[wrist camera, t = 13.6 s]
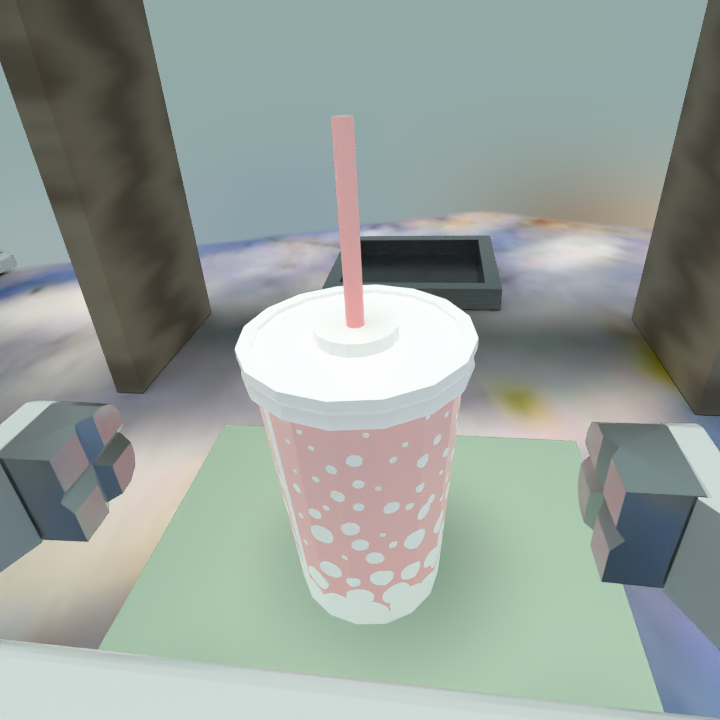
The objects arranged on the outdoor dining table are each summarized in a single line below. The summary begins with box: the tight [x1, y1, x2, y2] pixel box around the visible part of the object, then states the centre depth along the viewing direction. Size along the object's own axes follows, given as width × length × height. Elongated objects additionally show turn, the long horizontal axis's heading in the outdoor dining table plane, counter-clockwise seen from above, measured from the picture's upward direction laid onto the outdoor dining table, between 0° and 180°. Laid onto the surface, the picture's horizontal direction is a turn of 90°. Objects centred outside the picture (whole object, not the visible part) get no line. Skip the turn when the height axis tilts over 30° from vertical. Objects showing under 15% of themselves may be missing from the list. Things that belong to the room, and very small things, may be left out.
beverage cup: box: [235, 115, 479, 624], centre depth 14 cm, size 6×6×14 cm
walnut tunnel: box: [0, 0, 720, 415], centre depth 25 cm, size 10×31×22 cm, turn 82°
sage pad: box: [98, 425, 664, 712], centre depth 18 cm, size 14×16×1 cm
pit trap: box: [323, 236, 502, 310], centre depth 40 cm, size 11×12×2 cm
